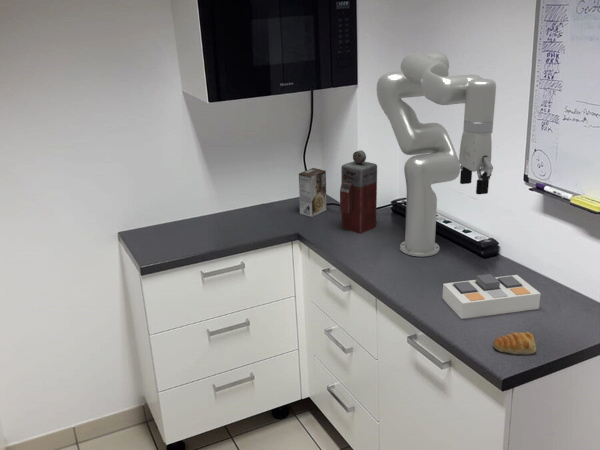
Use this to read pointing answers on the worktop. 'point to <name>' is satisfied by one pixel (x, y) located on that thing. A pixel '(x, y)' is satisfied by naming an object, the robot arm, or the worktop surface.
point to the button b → (487, 282)
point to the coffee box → (312, 192)
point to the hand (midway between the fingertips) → (473, 188)
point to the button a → (465, 287)
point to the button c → (509, 282)
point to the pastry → (516, 343)
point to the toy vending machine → (358, 194)
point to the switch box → (491, 299)
